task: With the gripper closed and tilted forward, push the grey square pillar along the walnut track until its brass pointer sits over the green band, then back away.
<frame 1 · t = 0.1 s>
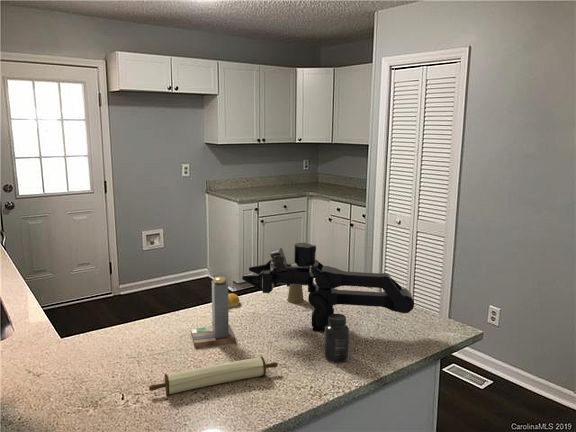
hand: (245, 273, 151), 17 cm above the counter, tool horizontal, fingers open, 9 cm apart
cork: (295, 301, 173), on the counter
bread roll: (226, 305, 169), on the counter
supplement bottle: (336, 357, 131), on the counter
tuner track: (220, 340, 140), on the counter
rolling pin: (216, 385, 117), on the counter
grey square pillar: (219, 304, 140), point 11 cm above the counter, slide at 0.0 cm
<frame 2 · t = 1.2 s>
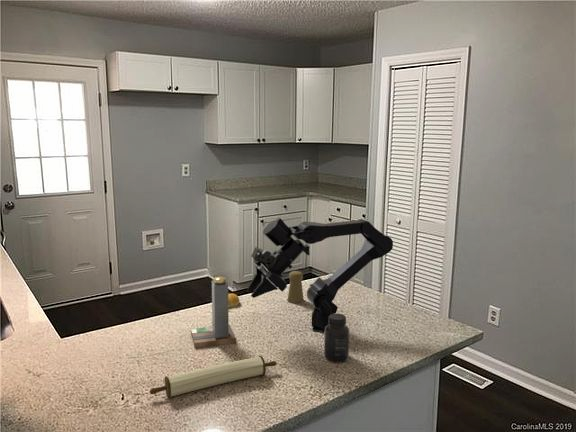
hand: (250, 293, 141), 14 cm above the counter, tool tilted 45°, fingers open, 5 cm apart
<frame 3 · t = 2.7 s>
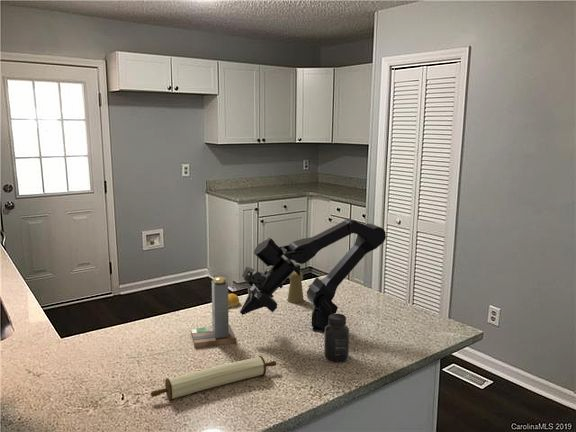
hand: (241, 313, 141), 8 cm above the counter, tool tilted 45°, fingers closed
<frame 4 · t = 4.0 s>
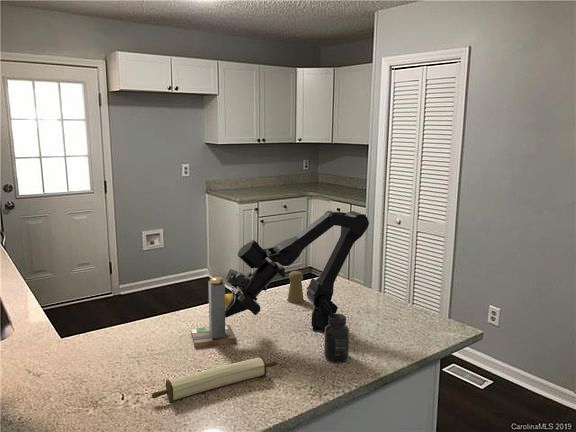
hand: (224, 316, 139), 7 cm above the counter, tool tilted 45°, fingers closed, pressing on grey square pillar
grey square pillar: (215, 304, 140), point 11 cm above the counter, slide at 1.0 cm, touching gripper
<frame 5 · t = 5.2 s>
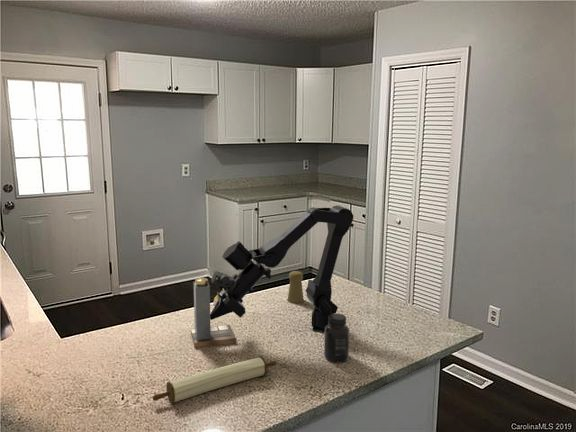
hand: (210, 318, 138), 7 cm above the counter, tool tilted 45°, fingers closed, pressing on grey square pillar
grey square pillar: (201, 306, 139), point 11 cm above the counter, slide at 5.3 cm, touching gripper
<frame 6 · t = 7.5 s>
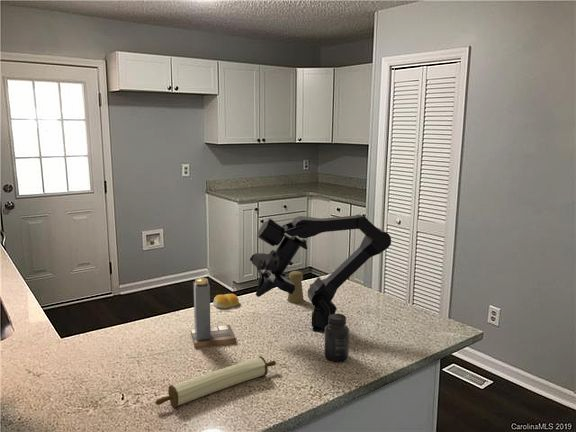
hand: (257, 296, 144), 12 cm above the counter, tool tilted 35°, fingers closed
grey square pillar: (201, 306, 139), point 11 cm above the counter, slide at 5.3 cm
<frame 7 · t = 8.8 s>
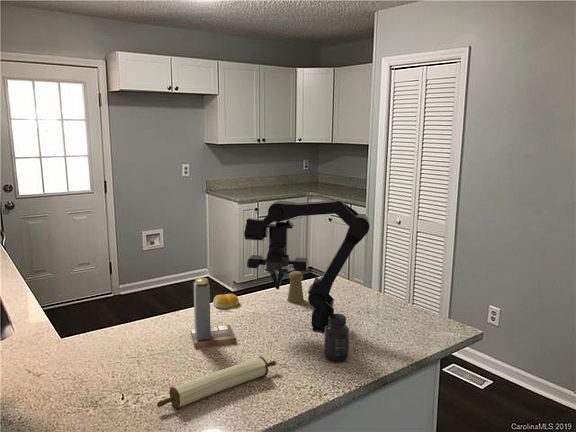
hand: (277, 288, 150), 12 cm above the counter, tool pointing down, fingers closed
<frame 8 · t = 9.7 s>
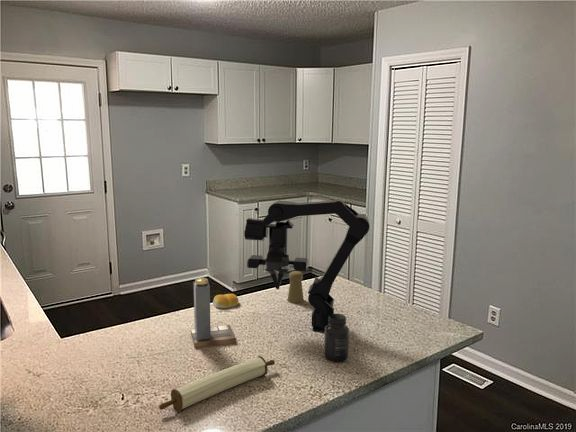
hand: (277, 288, 150), 12 cm above the counter, tool pointing down, fingers closed
at the end: grey square pillar slide at 5.3 cm; the gripper is holding nothing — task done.
